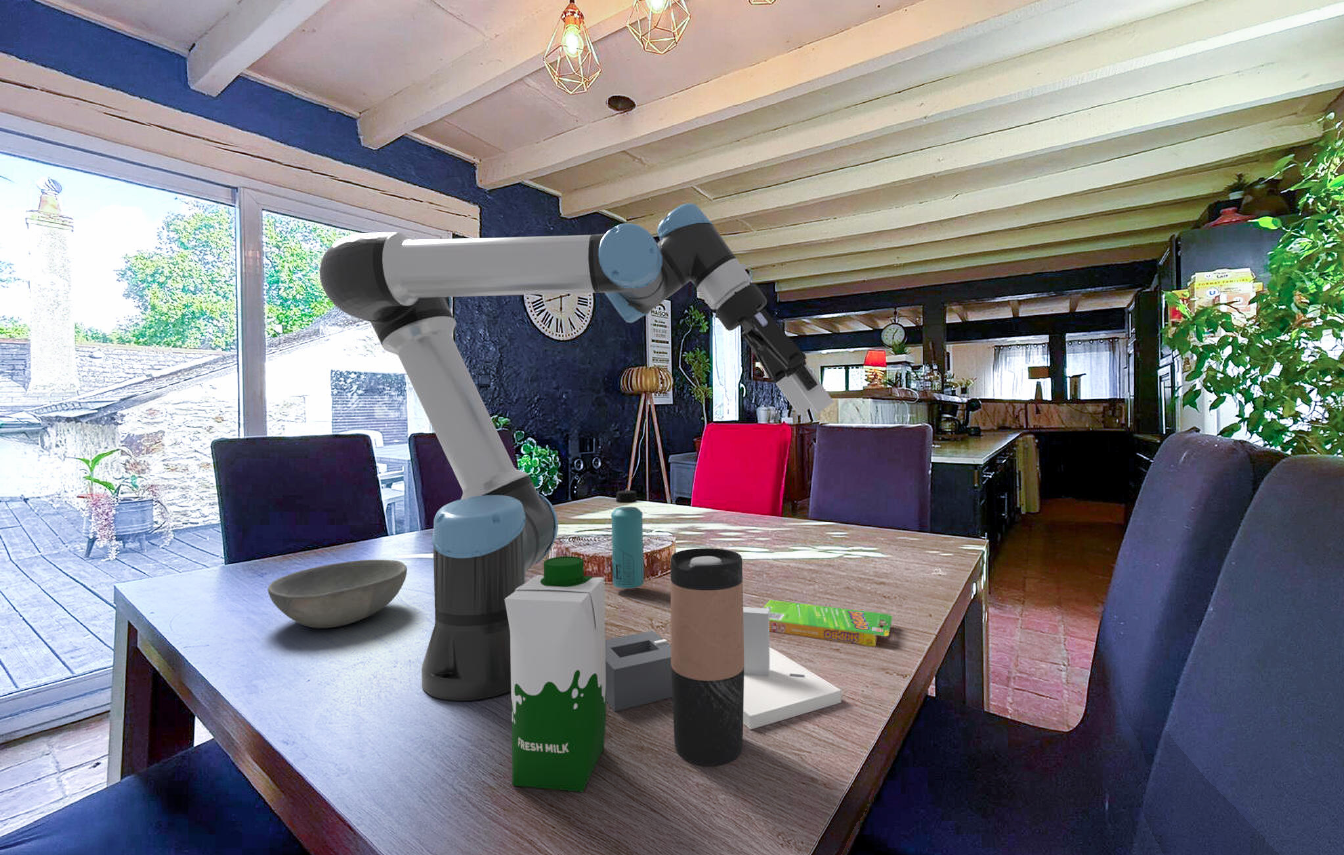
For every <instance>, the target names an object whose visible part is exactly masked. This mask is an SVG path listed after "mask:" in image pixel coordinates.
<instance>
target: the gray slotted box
mask: <svg viewBox="0 0 1344 855" xmlns="http://www.w3.org/2000/svg"><path fill="white" fill-rule="evenodd" d="M605 662H606V703H607V704H608V706H610V708H611V709H612V710H613V712H614V713H615V712H619V711H623V710H627V709H631V708H635V707H639V706H642V705H647V704H651V703H655V702H659V701H662V700H666V699H671V698H672V676H671V643H668V640H667V639H665V638H663V637H661V636H660V635H659V634H658V633H656V631H654V630H649V631H645V632H639V633H634V634H628V635H623V636H619V637H614V638H613V637H612V638H608V639H607V638H606V639H605Z"/></svg>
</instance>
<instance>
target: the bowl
mask: <svg viewBox="0 0 1344 855" xmlns="http://www.w3.org/2000/svg"><path fill="white" fill-rule="evenodd" d="M407 574H408V568H407V565H405V563H404V562H402V561H399V560H395V559H393V560H392V559H363V560H362V559H361V560H352V561H344V562H337V563H336V562H335V563H332V564H326V565H320V566H316V567H312V568H307V569H304V570H299V571H296V572H293V573H290V574H287V575H284V576H282V577H279V578H277V579H274V581H272V582H271V583H270V584H269V585H268V587H267V593H268V595H269V598H270V600H271V602H272V603H273V604H274V605H275V607H276V608H277V609H278V610H279V611H280V612H281V613H283V614H284V615H285V616H287V617H288V618H289V619H291V620H292V621H293V622H296V623H297V624H300V625H302V626H305V627H309V628H315V629H331V627H332V628H337V627H338V628H339V627H342V626H346V625H349V624H352V623H355V622H359V621H360V620H364V619H366V618H368V617H370V616H372V615H374V614H375V613H377V612H378V611H380V610H382V609H384V608H385V607H386V606H387V605H389V604H390V603H391V602H392V601H393V600H394V599H395V598H396V596H397V595H398V594H399V592H400V591H401V589H402V587H403V585H404V583H405V580H406V578H407Z"/></svg>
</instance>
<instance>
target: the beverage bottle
mask: <svg viewBox="0 0 1344 855" xmlns="http://www.w3.org/2000/svg"><path fill="white" fill-rule="evenodd" d="M615 502H616V503H618V504H632V503H637V502H638V497H637V492H636V491H635V490H618V491H617V492H616V499H615ZM643 514H644V513H643V512H642V510H640V509H639V508H638V507H635V506H621V507H620V506H619V507H617V508H615V509H614V510H613V511H612V513H611V515H610V517H611V537H610V540H611V553H612V554H611V559H612V562H611V576H612V579H611V580H612V584H613V586H614V587H616V588H619V589H634V588H635V589H636V588H639V587H641V586H643V585H644V582H645V580H646V579H645V558H644V557H645V552H644V546H645V545H644V533H643V531H644V530H643V516H644V515H643Z"/></svg>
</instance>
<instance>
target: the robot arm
mask: <svg viewBox="0 0 1344 855" xmlns="http://www.w3.org/2000/svg"><path fill="white" fill-rule="evenodd" d="M656 232H657V236H658V238H659V241H658V242H657V241H656V240H655V238H654V237H653V235H652V234H651V233H650V232H649V231H648V230H647V229H646V228H644V227H643V226H640V225H639V224H636V223H626V222H625V223H620V224H618V225H616V226H613V227H612V228H610V229H609V230H607V231H606V233H599V234H598V233H597V234H583V235H582V234H579V235H577V234H576V235H549V236H547V235H545V236H542V235H541V236H513V237H512V236H511V237H510V236H509V237H477V238H475V237H474V238H443V239H442V238H440V239H410V238H409V237H408V236H407V235H405V234H404V233H402V232H369V233H357V234H351V235H348V236H344V237H343V238H341V239H338V240H336V241H335V242H334V243H332V244H331V245H330V246H329V247H328V249H327V250H326V251H325V252H324V254H323V255H322V256H323V257H322V259H321V262H320V265H319V266H320V267H319V277H320V278H319V279H320V283H321V286H322V289H323V291H324V293H325V295H326V296H327V298H328V299H329V300H330V302H332V303H333V305H334V306H335V307H336V308H338V309H339V310H340V311H341V312H344V313H345V314H347V315H349V316H350V317H354V318H356V319H360V320H363V321H366V322H370V325H371V326H372V327H373V330H374V332H375V334H376V336H377V338H378V340H379V342H380V344H381V347H382V348H383V350H384V351H386V352H387V353H391V354H394V355H397V356H398V358H399V360H400V362H401V364H402V367H403V369H404V371H405V373H406V375H407V377H408V379H409V381H410V383H411V385H412V388H413V389H414V392H415V393H416V396H417V397H418V400H419V402H420V404H421V406H422V409H423V411H424V412H425V415H426V417H427V418H428V421H429V423H430V425H431V427H432V429H433V431H434V434H435V435H436V437H437V440H438V441H439V444H440V446H441V447H442V450H443V453H444V455H445V456H446V458H447V461H448V463H449V465H450V467H451V468H452V470H453V473H454V475H455V478H456V480H457V481H458V484H459V485H460V488H461V490H462V496H461V497H460V499H457V500H455V501H452V502H449V503H447V504H445V505H443V506H442V507H441V508H439V509H438V510H437V512H436V514H434V515H435V516H434V518H433V532H432V534H431V543H432V544H431V545H432V549H433V550H432V553H433V588H434V591H433V593H434V627H433V629H432V633H431V637H430V640H429V642H428V645H427V649H426V653H425V655H424V659H423V662H422V665H421V687H422V689H423V691H424V692H425V693H426V694H428V695H430V696H431V697H434V698H437V699H440V700H447V701H457V702H458V701H459V702H461V701H462V702H463V701H476V700H484V699H488V698H493V697H499V696H501V695H505V694H507V693H511V651H510V628H509V622H508V616H507V610H506V604H505V598H507V597H508V596H509V595H511V594H512V593H514V592H515V589H516V588H518V587H519V586H522V585H523V584H525V583H526V572H527V571H528V570H529V569H531V567H533V566H534V565H536V564H538V563H539V562H540V561H542V560H543V559H544V557H546V556H547V554H548V553H549V552H550V550H551V549H552V546H553V545H554V543H555V541H556V539H557V537H558V536H557V535H558V531H559V520H558V515H557V512H556V510H555V509H556V508H555V507H554V506H553V504H552V502H550V501H549V500H548V499H547V498H546V497H545V496H544V495H542V494H540V493H538V492H537V490H536V487H535V485H534V483H533V481H532V479H531V477H530V475H529V473H527V472H525V471H522V470H519V469H517V468H515V466H514V463H513V462H512V460H511V457H510V455H509V453H508V451H507V449H506V447H505V445H504V442H503V441H502V439H501V437H500V435H499V432H498V430H497V428H496V426H495V423H493V420H492V418H491V415H490V414H489V412H488V410H487V407H486V405H485V403H484V401H483V398H482V397H481V395H480V393H479V391H478V390H479V389H477V386H476V384H475V383H474V380H473V378H472V376H471V374H470V372H469V369H468V368H467V365H466V364H465V362H464V359H463V357H462V355H461V353H460V351H459V349H458V347H457V344H456V342H455V341H454V339H453V336H452V335H453V332H454V330H455V327H456V326H457V322H456V320H455V318H454V316H453V314H452V310H451V309H452V306H453V300H452V298H453V297H454V298H456V297H481V296H482V297H484V296H485V297H486V296H487V297H488V296H490V297H491V296H495V297H496V296H524V295H525V296H527V295H553V294H554V295H556V294H562V295H563V294H589V293H590V294H592V293H593V294H594V293H595V294H600V293H602V294H603V293H604V294H605V296H606V297H607V298H608V300H609V301H610V303H611V304H612V305H613V307H614V308H615V309H616V311H617V313H618V314H619V315H620V316H621V317H622V319H623V320H624V321H625V322H626V323H629V324H630V323H631V324H632V323H634V322H636V321H638V320H639V319H640V318H642V317H644V316H647V315H649V314H650V312H651V311H653V309H655V308H656V307H657V306H659V305H660V304H662V303H663V302H664V301H665V300H666V299H668V298H669V297H671V296H672V295H674V294H675V293H676V292H678V290H680V289H681V288H682V287H684V286H685V285H687V284H688V283H689V282H691V283H692V284H693V285H694V286H695V288H696V290H697V292H698V293H699V294H700V296H701V297H702V298H703V300H704V301H705V302H706V304H707V305H708V307H709V308H710V309H711V310H716V311H715V316H716V318H718V320H719V321H720V322H721V324H722V325H723V327H724V328H725V330H727V331H729V332H731V331H733V330H735V329H737V328H739V327H742V329H743V332H741V335H742V338H743V339H745V341H746V343H747V344H748V346H749V347H750V349H751V350H752V352H753V354H754V355H755V358H756V359H757V360H758V362H759V364H760V366H762V369H763V370H764V372H765V373H766V375H767V378H768V379H769V380H770V381H773V382H774V383H775V385H776V386H777V387H778V390H780V392H781V393H782V394H783V396H784V398H786V400H787V401H788V402H789V404H790V405H791V407H792V408H793V409H794V411H795V412H796V414H797V415H798V416H801V415H802V414H804V413H805V412H806V411H808V410H809V409H811V408H812V409H813V410H814V412H815V413H816V414H819V413H822V411H824V410H825V409H826V408H828V407H829V406H831V405H832V404H833V403H834V402H835V401H834V400H833V399H832V397H831V396H830V394H829V393H828V392H827V390H826V389H825V387H824V386H823V384H821V382H820V381H819V380H818V378H817V376H816V375H815V374H814V373H813V371H812V370H811V368H810V367H809V366H808V364H807V362H806V360H807V356H806V353H804V352H803V351H802V350H801V349H800V348H799V346H798V345H796V343H795V342H794V341H793V340H792V339H791V338H790V336H788V334H786V332H785V331H783V329H782V328H781V327H780V326H779V325H778V324H777V323H776V321H775V320H774V319H773V318H772V317H771V315H770V314H769V313H768V311H767V310H766V309H765V308H764V307H766V305H767V302H768V300H767V298H766V296H765V295H764V294H763V292H762V291H761V289H760V288H759V287H758V286H757V284H756V283H755V284H754V283H751V279H752V278H751V276H750V274H749V273H748V272H747V271H746V269H747V268H748V267H747V265H746V263H744V262H743V263H741V264H740V261H739V260H738V259H737V257H736V256H735V255H734V253H733V252H732V250H731V249H730V247H729V246H728V245H727V243H726V241H725V240H724V238H723V237H722V236H721V234H720V233H719V231H718V230H717V229H716V228H715V226H714V224H713V222H712V221H710V219H709V218H708V217H707V216H706V215H705V213H704V212H703V211H702V210H701V209H700V208H699V206H698V205H696V204H694V203H691V202H690V203H683V204H681V205H679V206H678V207H676V208H674V209H673V210H671V211H670V212H669V213H668V215H667V216H666V217H664V218H663V219H662V220H661V221H660V223H659V225H658V226H657V231H656Z"/></svg>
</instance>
